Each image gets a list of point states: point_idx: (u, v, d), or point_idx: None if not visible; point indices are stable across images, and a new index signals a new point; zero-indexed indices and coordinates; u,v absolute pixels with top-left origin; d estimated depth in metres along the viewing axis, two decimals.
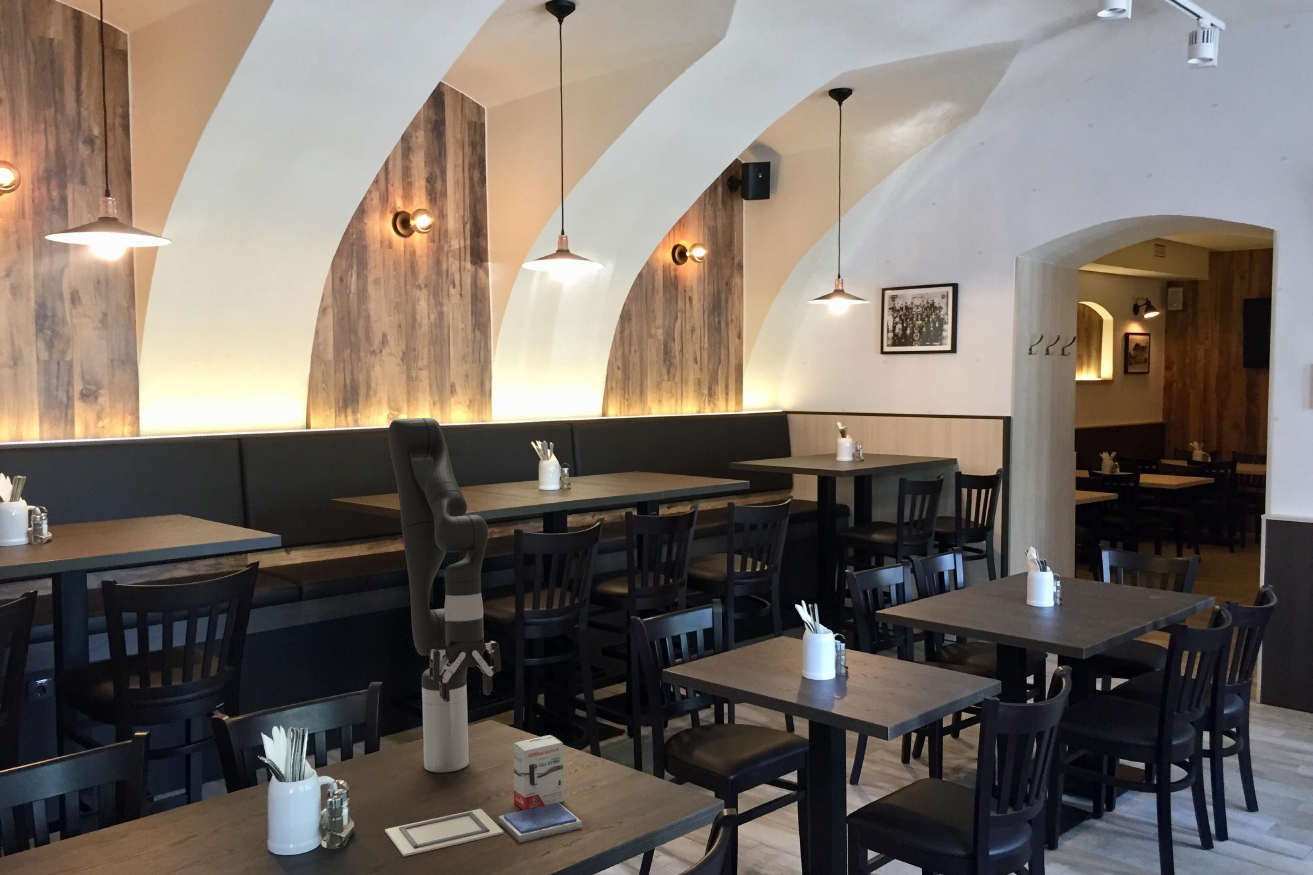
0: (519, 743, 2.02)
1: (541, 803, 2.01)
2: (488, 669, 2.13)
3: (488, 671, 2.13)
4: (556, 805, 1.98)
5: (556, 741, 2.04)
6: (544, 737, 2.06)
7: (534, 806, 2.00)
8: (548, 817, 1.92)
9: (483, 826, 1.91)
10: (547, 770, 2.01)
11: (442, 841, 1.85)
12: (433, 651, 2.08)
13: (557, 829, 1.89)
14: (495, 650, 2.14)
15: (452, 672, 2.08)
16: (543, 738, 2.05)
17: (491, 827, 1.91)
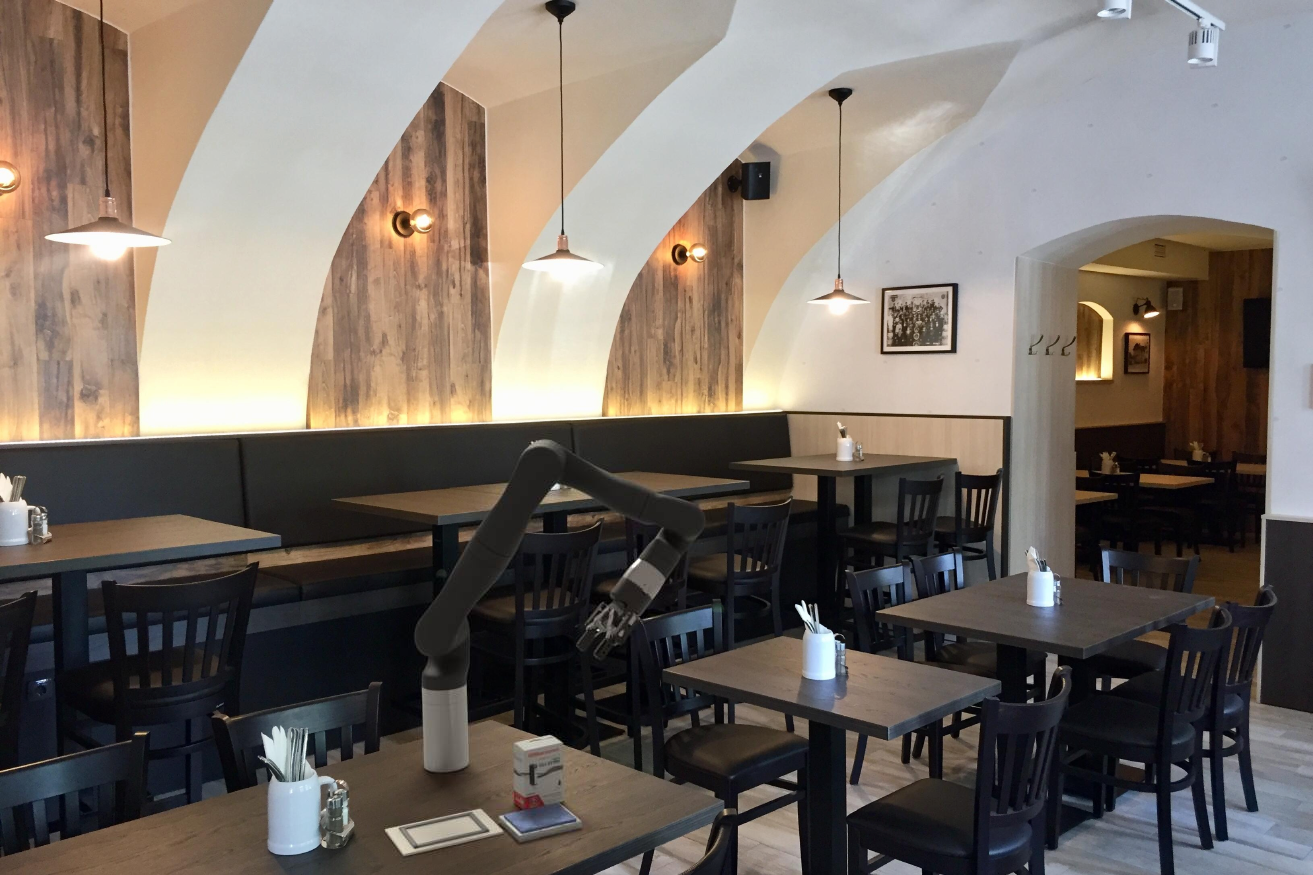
0: (519, 743, 2.02)
1: (541, 803, 2.01)
2: None
3: None
4: (556, 805, 1.98)
5: (556, 741, 2.04)
6: (544, 737, 2.06)
7: (534, 806, 2.00)
8: (548, 817, 1.92)
9: (483, 826, 1.91)
10: (547, 770, 2.01)
11: (442, 841, 1.85)
12: (636, 618, 2.04)
13: (557, 829, 1.89)
14: None
15: None
16: (543, 738, 2.05)
17: (491, 827, 1.91)
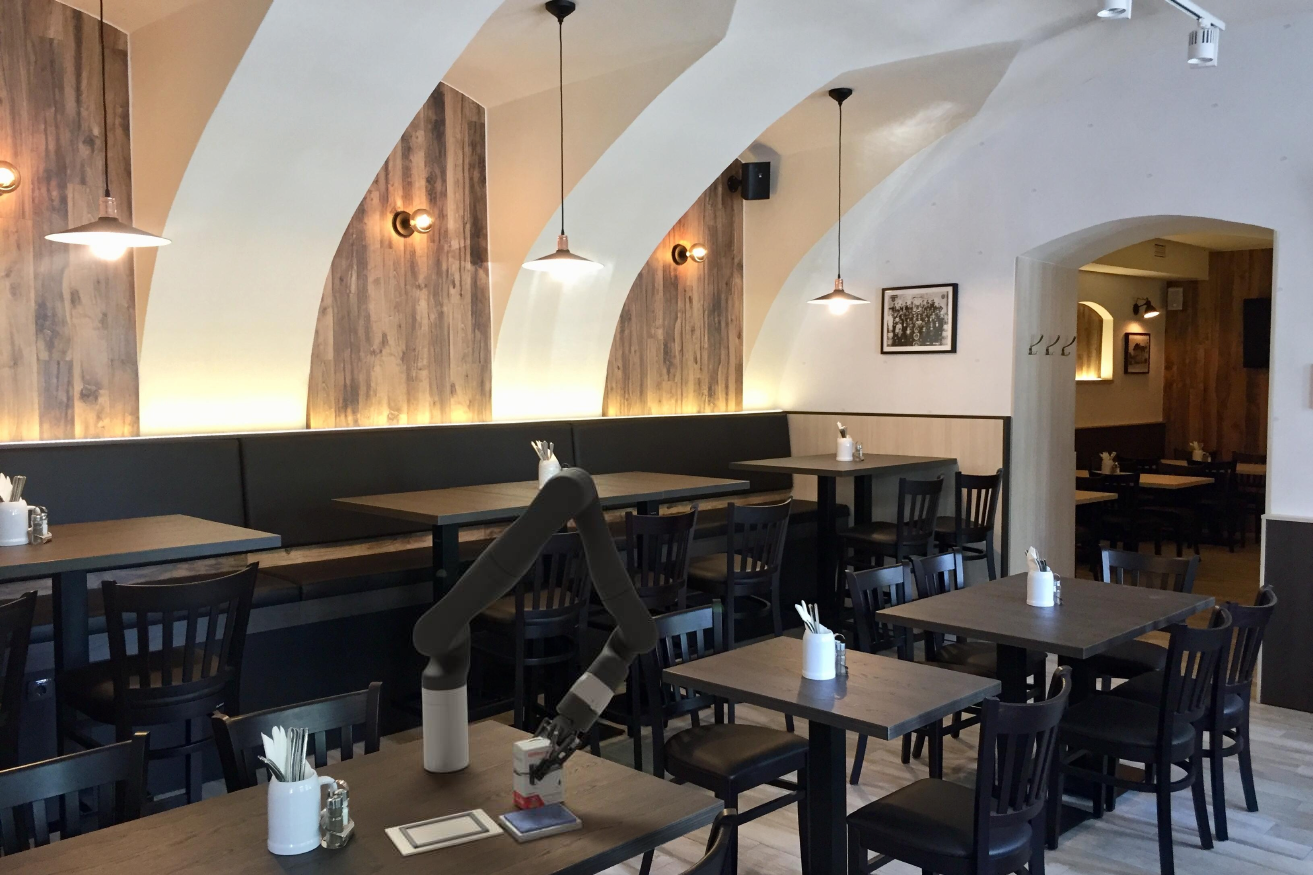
0: (519, 743, 2.02)
1: (541, 803, 2.01)
2: None
3: None
4: (556, 805, 1.98)
5: None
6: (544, 737, 2.06)
7: (534, 806, 2.00)
8: (548, 817, 1.92)
9: (483, 826, 1.91)
10: None
11: (442, 841, 1.85)
12: (578, 742, 2.00)
13: (557, 829, 1.89)
14: None
15: None
16: None
17: (491, 827, 1.91)
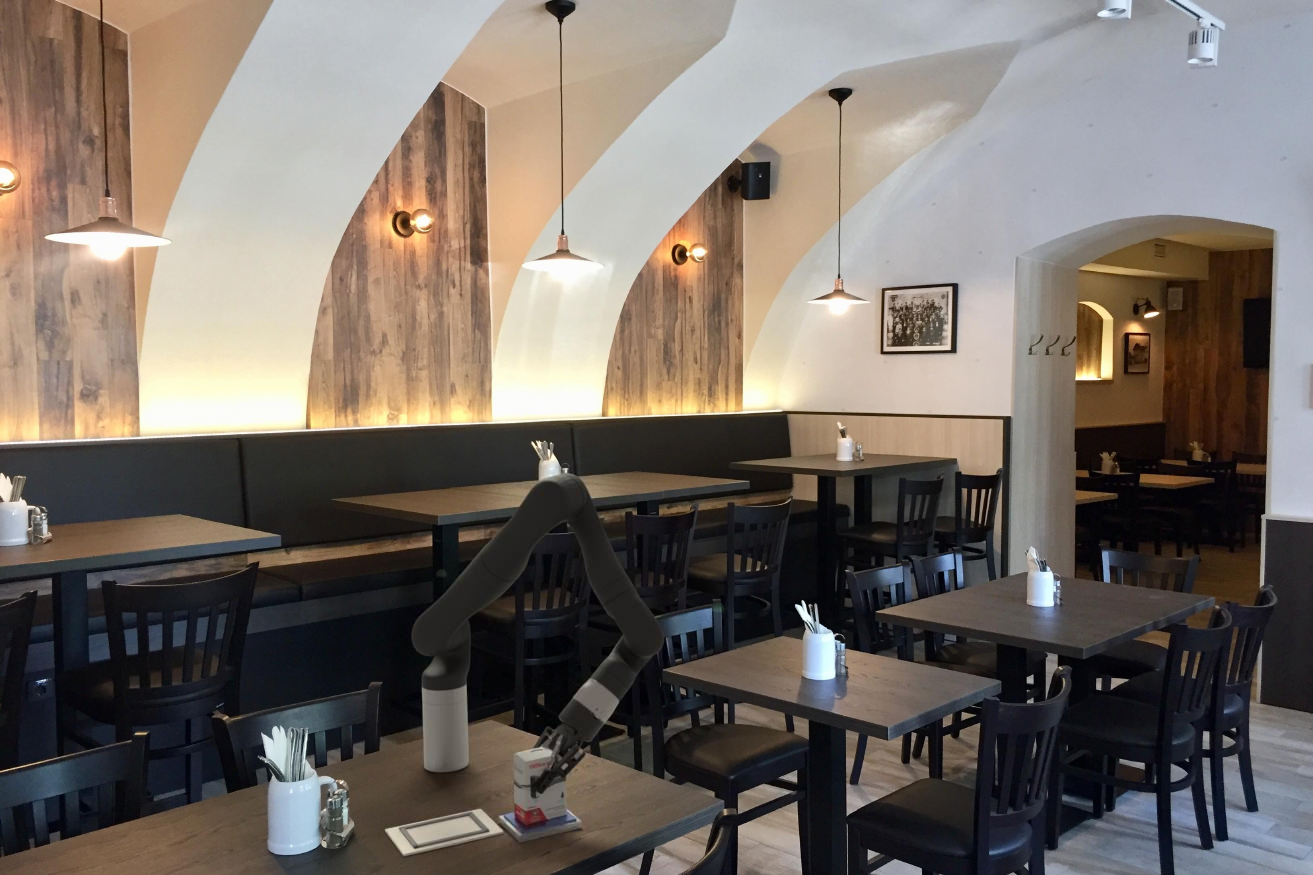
0: (520, 753, 1.92)
1: (542, 817, 1.91)
2: None
3: None
4: None
5: None
6: None
7: (535, 820, 1.90)
8: None
9: (483, 826, 1.91)
10: None
11: (442, 841, 1.85)
12: (582, 752, 1.89)
13: (557, 829, 1.89)
14: None
15: None
16: (545, 748, 1.95)
17: (491, 827, 1.91)
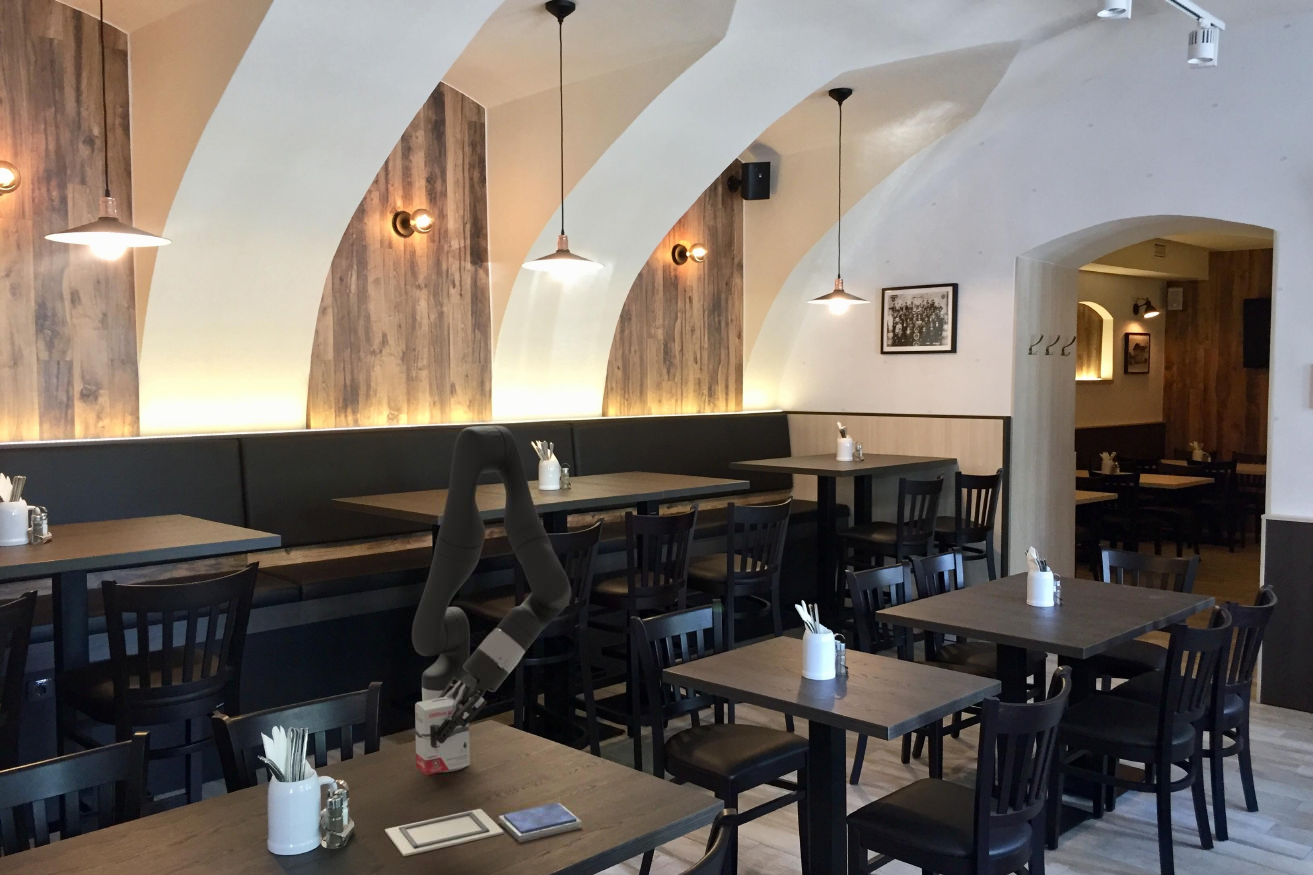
0: (421, 703, 1.89)
1: (444, 767, 1.88)
2: None
3: None
4: (556, 805, 1.98)
5: None
6: (449, 697, 1.92)
7: (436, 770, 1.87)
8: (548, 817, 1.92)
9: (483, 826, 1.91)
10: None
11: (442, 841, 1.85)
12: (483, 701, 1.86)
13: (557, 829, 1.89)
14: None
15: None
16: None
17: (491, 827, 1.91)
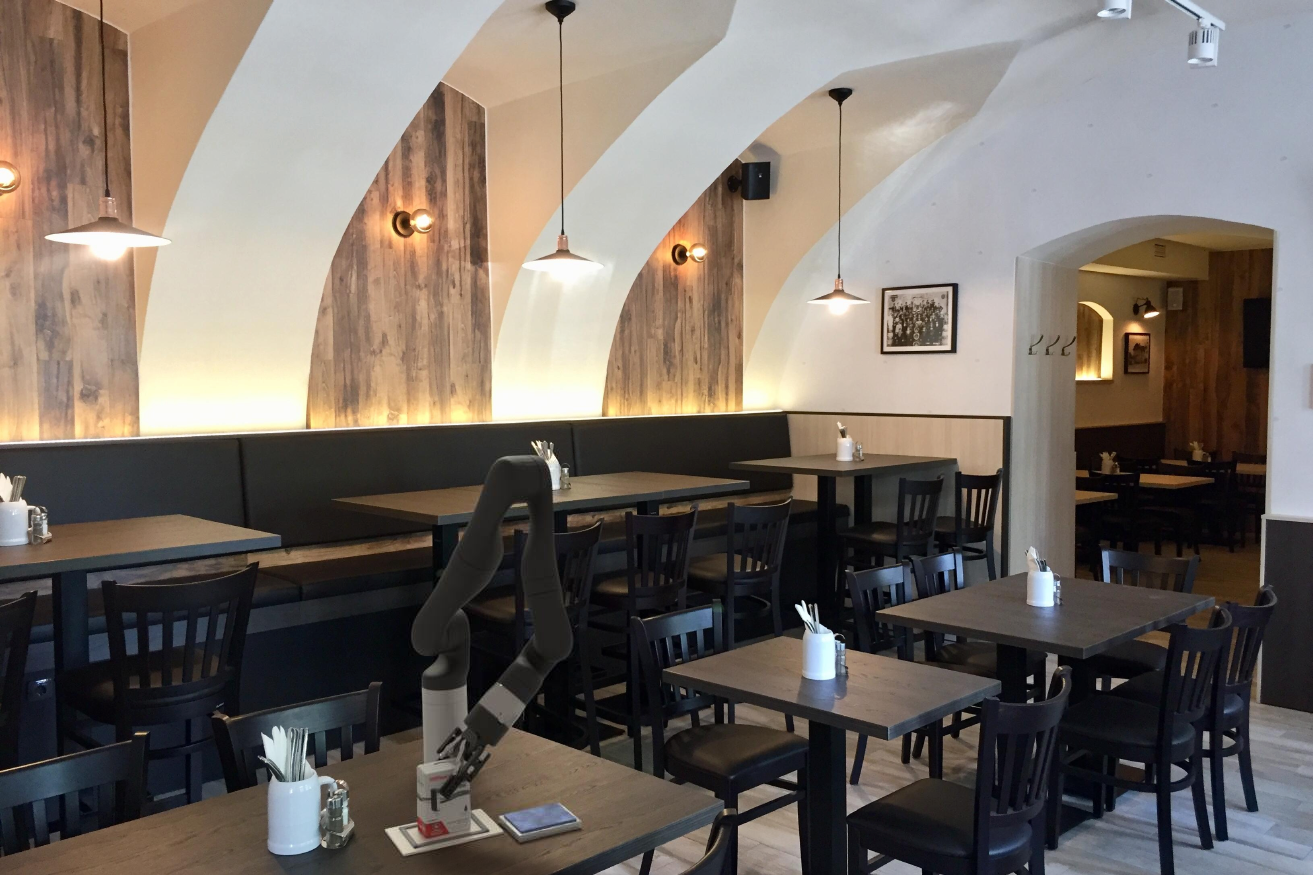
0: (422, 766, 1.90)
1: (444, 830, 1.88)
2: None
3: None
4: (556, 805, 1.98)
5: None
6: (451, 759, 1.93)
7: (437, 833, 1.88)
8: (548, 817, 1.92)
9: (483, 826, 1.91)
10: (451, 795, 1.89)
11: (442, 841, 1.85)
12: (487, 753, 1.87)
13: (557, 829, 1.89)
14: None
15: None
16: (450, 760, 1.92)
17: (491, 827, 1.91)
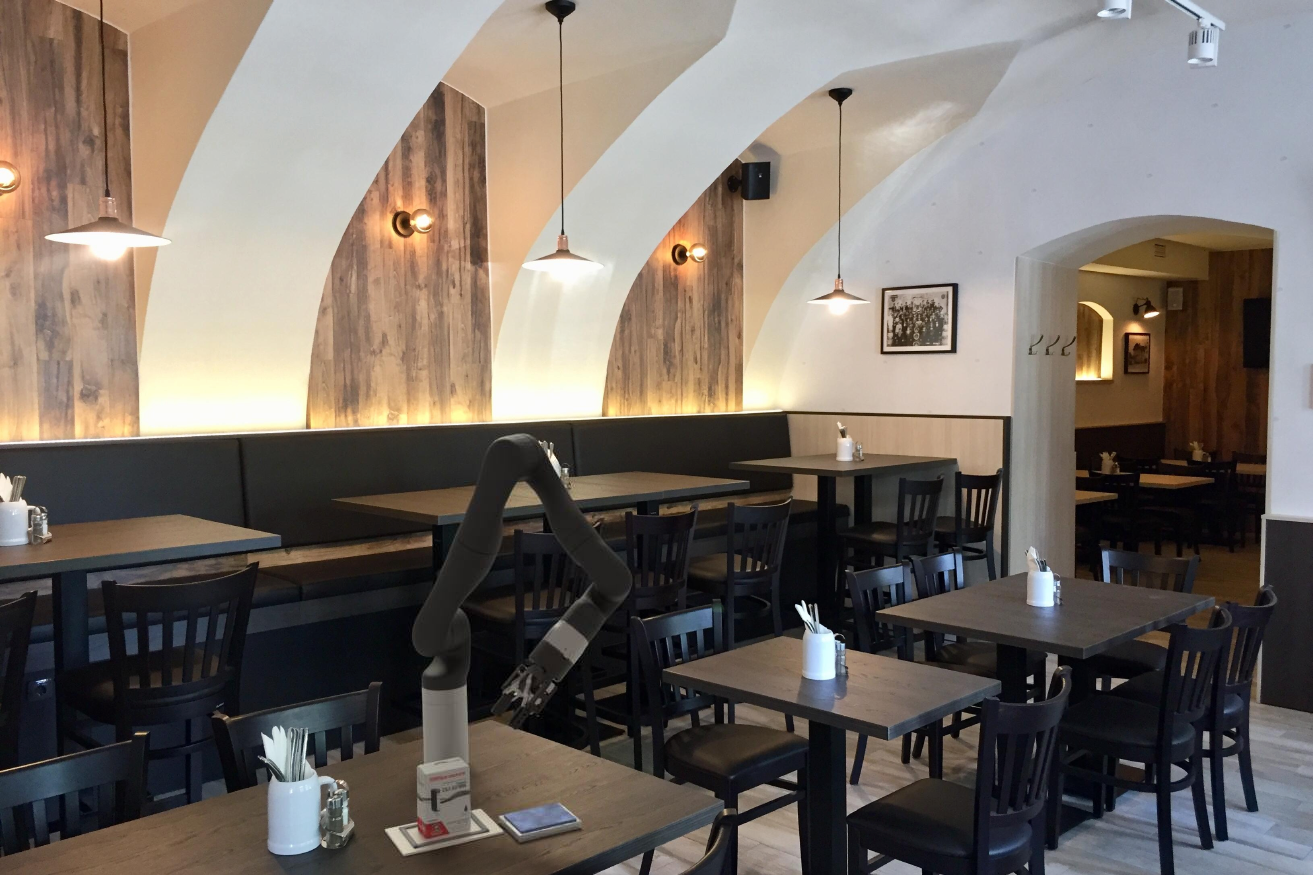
0: (423, 766, 1.90)
1: (444, 831, 1.88)
2: None
3: None
4: (556, 805, 1.98)
5: (463, 764, 1.91)
6: (451, 759, 1.93)
7: (437, 834, 1.88)
8: (548, 817, 1.92)
9: (483, 826, 1.91)
10: (451, 796, 1.89)
11: (442, 841, 1.85)
12: (554, 686, 1.93)
13: (557, 829, 1.89)
14: None
15: None
16: (450, 760, 1.92)
17: (491, 827, 1.91)
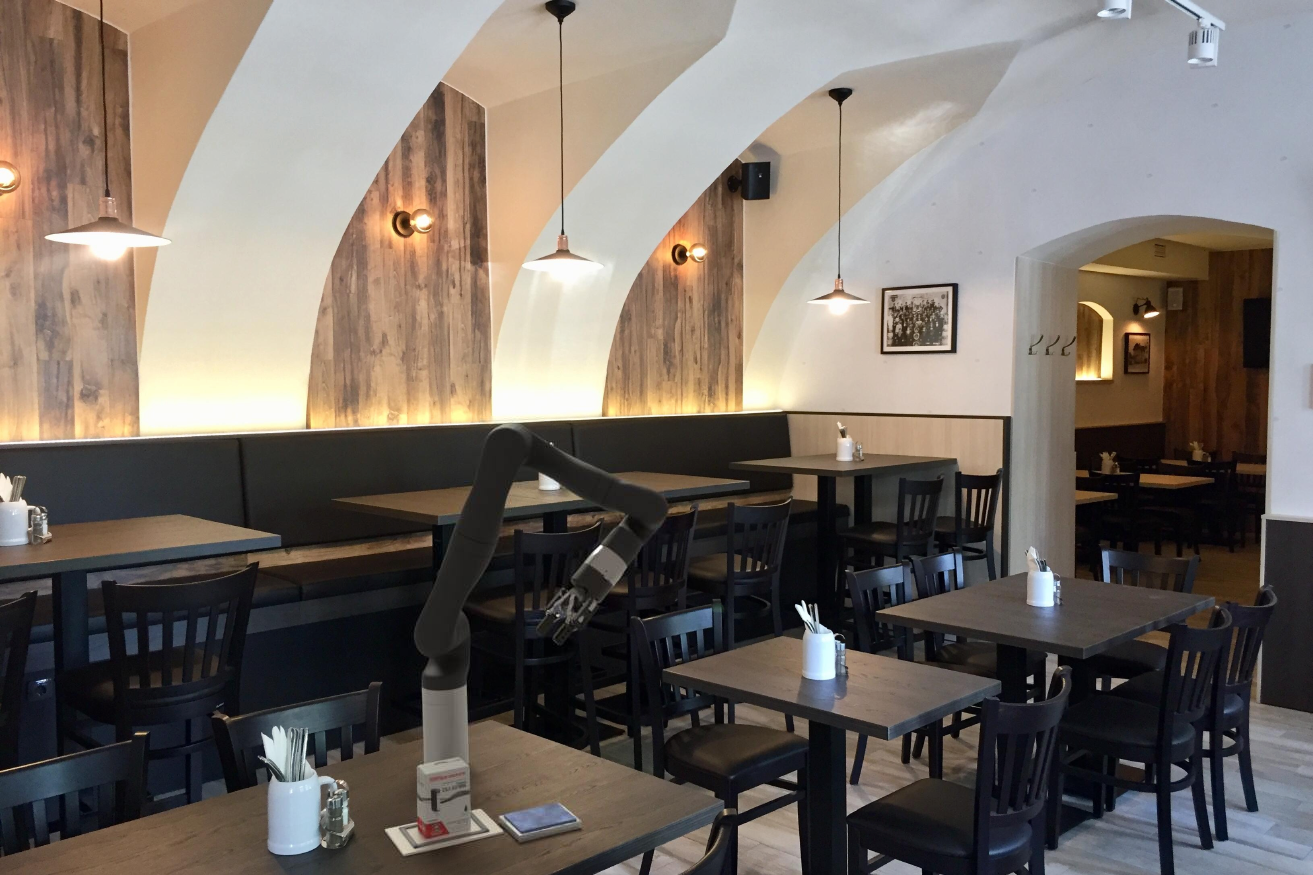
0: (423, 766, 1.90)
1: (444, 831, 1.88)
2: None
3: None
4: (556, 805, 1.98)
5: (463, 764, 1.91)
6: (451, 759, 1.93)
7: (437, 834, 1.88)
8: (548, 817, 1.92)
9: (483, 826, 1.91)
10: (451, 796, 1.89)
11: (442, 841, 1.85)
12: (596, 604, 2.04)
13: (557, 829, 1.89)
14: None
15: None
16: (450, 760, 1.92)
17: (491, 827, 1.91)
